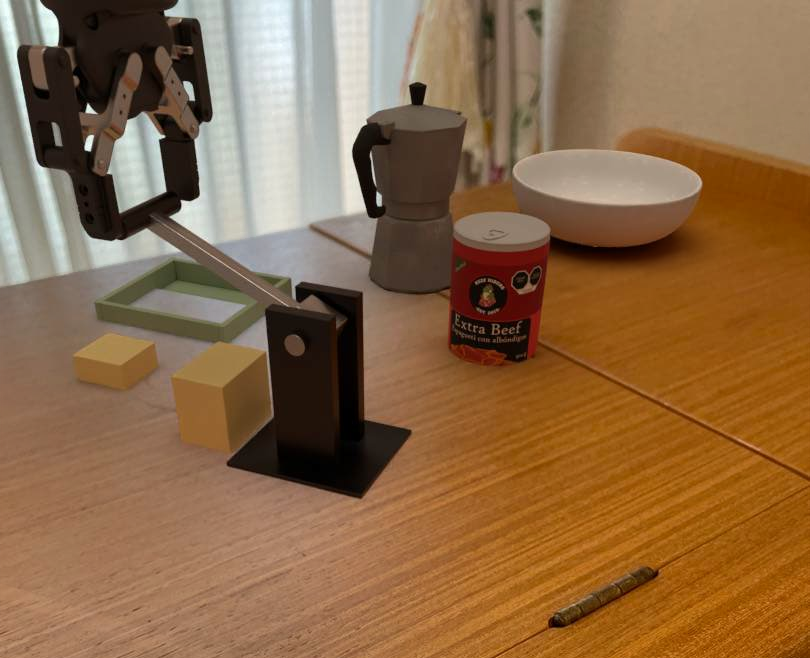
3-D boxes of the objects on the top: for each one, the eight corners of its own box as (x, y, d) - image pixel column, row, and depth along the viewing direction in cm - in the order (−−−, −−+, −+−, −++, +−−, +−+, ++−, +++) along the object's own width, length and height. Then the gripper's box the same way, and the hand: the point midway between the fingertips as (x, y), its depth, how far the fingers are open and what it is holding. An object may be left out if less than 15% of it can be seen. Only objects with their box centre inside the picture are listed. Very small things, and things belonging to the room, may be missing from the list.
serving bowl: (472, 239, 99) (476, 175, 95) (562, 197, 112) (569, 139, 108) (641, 283, 89) (654, 214, 85) (717, 231, 102) (732, 170, 98)
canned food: (436, 367, 73) (442, 236, 66) (460, 330, 79) (467, 206, 73) (526, 381, 71) (541, 248, 65) (543, 342, 78) (558, 216, 71)
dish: (99, 328, 78) (93, 301, 77) (175, 281, 87) (172, 257, 86) (227, 354, 75) (223, 326, 73) (293, 303, 84) (291, 277, 82)
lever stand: (228, 476, 60) (206, 313, 52) (289, 416, 66) (278, 264, 59) (361, 510, 57) (358, 342, 50) (411, 443, 63) (415, 287, 56)
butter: (182, 452, 62) (170, 376, 58) (226, 413, 66) (217, 340, 63) (231, 464, 61) (222, 387, 57) (273, 424, 65) (266, 350, 62)
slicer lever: (103, 239, 54) (110, 205, 52) (159, 211, 58) (167, 179, 57) (306, 372, 54) (320, 343, 52) (347, 335, 58) (360, 307, 57)
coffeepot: (416, 250, 96) (420, 66, 85) (487, 270, 91) (501, 79, 80) (321, 290, 86) (312, 89, 75) (395, 315, 82) (397, 105, 71)
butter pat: (80, 389, 69) (71, 354, 67) (114, 366, 72) (108, 332, 71) (127, 400, 68) (120, 365, 66) (160, 376, 71) (154, 342, 69)
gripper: (118, -101, 52) (161, 182, 62) (-65, -96, 41) (22, 244, 51) (227, -98, 50) (253, 194, 60) (63, -92, 39) (128, 262, 49)
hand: (146, 217), depth 55 cm, fingers open, 8 cm apart
